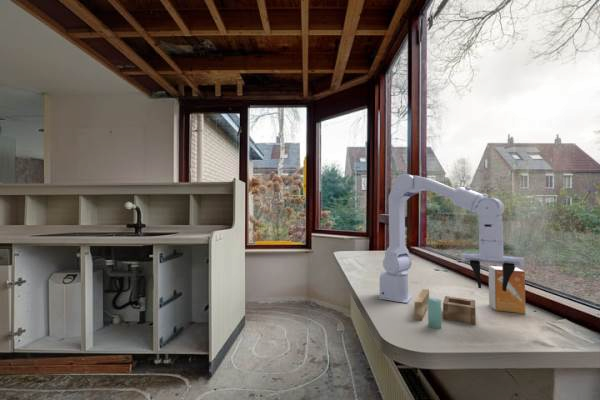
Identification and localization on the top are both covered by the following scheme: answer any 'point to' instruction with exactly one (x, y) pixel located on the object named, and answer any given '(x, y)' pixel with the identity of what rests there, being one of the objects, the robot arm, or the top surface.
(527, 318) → the top surface
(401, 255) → the robot arm
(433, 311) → the dowel
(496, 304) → the small box
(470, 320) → the block
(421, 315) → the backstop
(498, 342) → the top surface
